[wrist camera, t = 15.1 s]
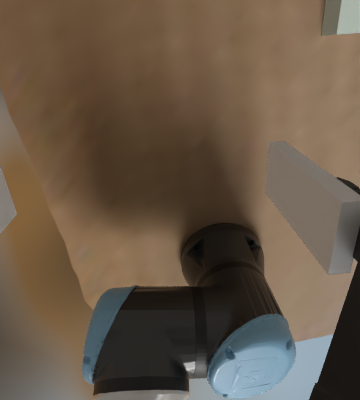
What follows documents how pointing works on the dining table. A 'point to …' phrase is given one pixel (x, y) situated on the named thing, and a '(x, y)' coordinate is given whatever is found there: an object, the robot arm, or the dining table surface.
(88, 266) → the dining table surface
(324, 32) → the sage base plate
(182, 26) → the dining table surface
